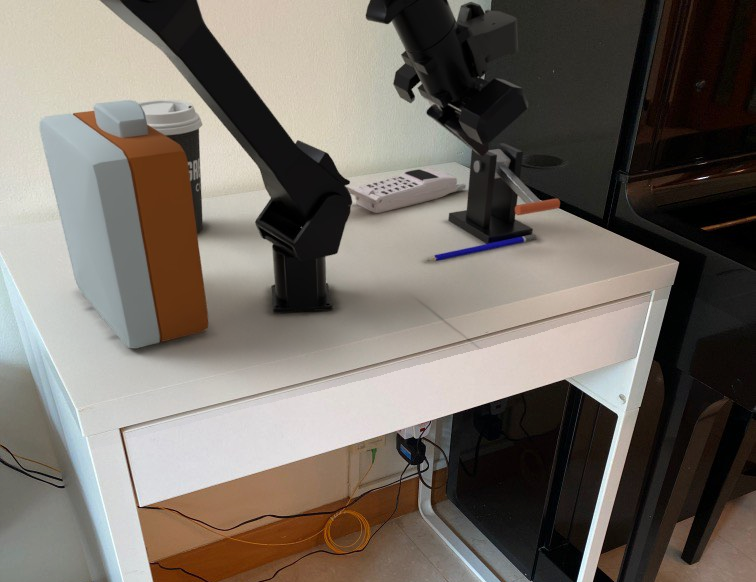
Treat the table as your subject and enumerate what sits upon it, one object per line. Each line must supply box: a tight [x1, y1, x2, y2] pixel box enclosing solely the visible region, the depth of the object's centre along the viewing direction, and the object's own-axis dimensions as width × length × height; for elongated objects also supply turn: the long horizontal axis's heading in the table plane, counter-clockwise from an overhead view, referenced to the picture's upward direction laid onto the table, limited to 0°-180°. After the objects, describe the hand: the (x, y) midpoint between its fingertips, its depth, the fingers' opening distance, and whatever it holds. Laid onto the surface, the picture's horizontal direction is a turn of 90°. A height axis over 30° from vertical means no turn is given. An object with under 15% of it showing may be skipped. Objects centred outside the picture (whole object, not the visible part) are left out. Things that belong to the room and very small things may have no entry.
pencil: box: [426, 233, 537, 262], centre depth 101 cm, size 17×1×1 cm, turn 120°
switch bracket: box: [448, 142, 534, 244], centre depth 104 cm, size 10×7×10 cm
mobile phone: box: [345, 168, 467, 214], centre depth 113 cm, size 6×6×25 cm
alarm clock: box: [39, 99, 209, 349], centre depth 79 cm, size 18×9×21 cm, turn 33°
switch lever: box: [488, 148, 561, 216], centre depth 99 cm, size 12×6×2 cm, turn 27°
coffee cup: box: [137, 99, 204, 235], centre depth 101 cm, size 10×10×15 cm
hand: (483, 152), depth 92 cm, fingers closed
